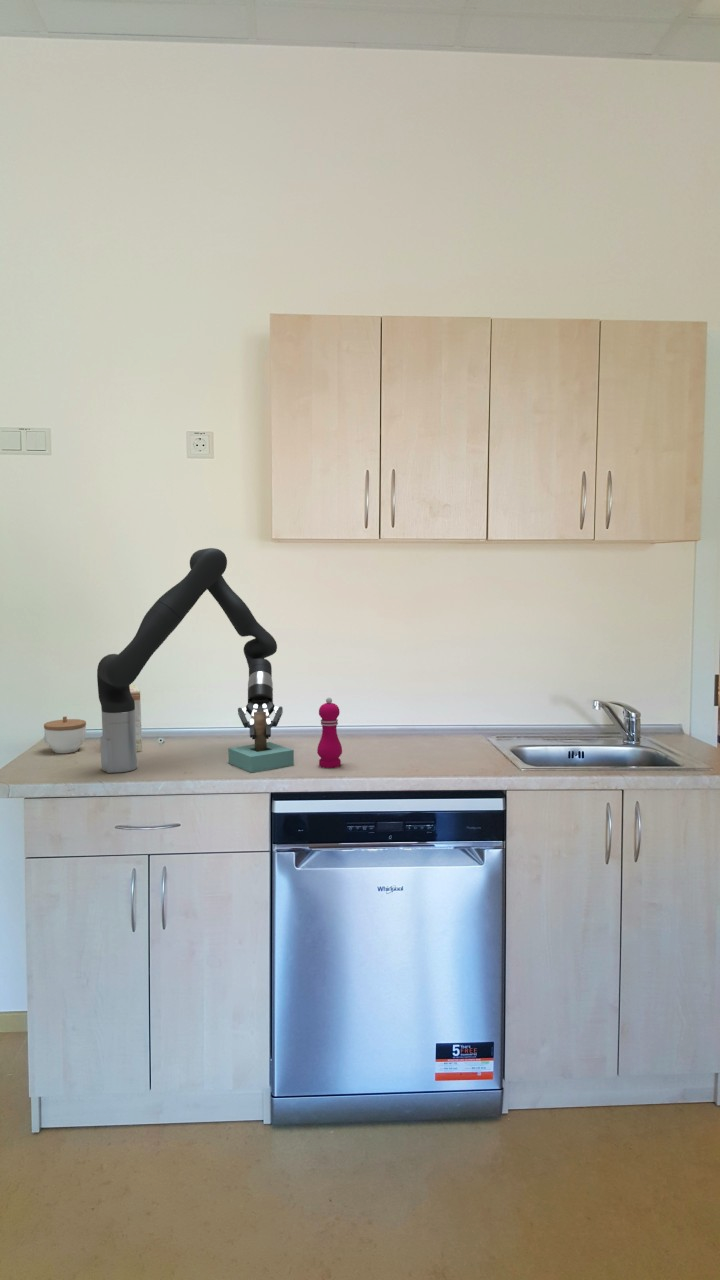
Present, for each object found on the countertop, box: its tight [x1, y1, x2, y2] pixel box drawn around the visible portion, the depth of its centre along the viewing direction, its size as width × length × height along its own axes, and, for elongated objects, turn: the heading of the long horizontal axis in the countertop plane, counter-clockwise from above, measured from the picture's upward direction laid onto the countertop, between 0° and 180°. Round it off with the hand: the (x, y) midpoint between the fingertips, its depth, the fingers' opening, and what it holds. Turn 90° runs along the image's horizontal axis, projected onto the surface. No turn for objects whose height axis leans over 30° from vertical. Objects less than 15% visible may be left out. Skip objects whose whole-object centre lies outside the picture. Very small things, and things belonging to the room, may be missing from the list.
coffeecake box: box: [130, 684, 143, 753], centre depth 261 cm, size 15×7×20 cm, turn 21°
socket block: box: [228, 741, 295, 773], centre depth 238 cm, size 14×14×4 cm
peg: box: [254, 711, 268, 752], centre depth 238 cm, size 4×4×13 cm
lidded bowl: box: [43, 716, 87, 754], centre depth 258 cm, size 13×13×11 cm
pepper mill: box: [316, 697, 343, 769], centre depth 235 cm, size 7×7×20 cm
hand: (260, 737), depth 236 cm, fingers closed on peg, 3 cm apart
